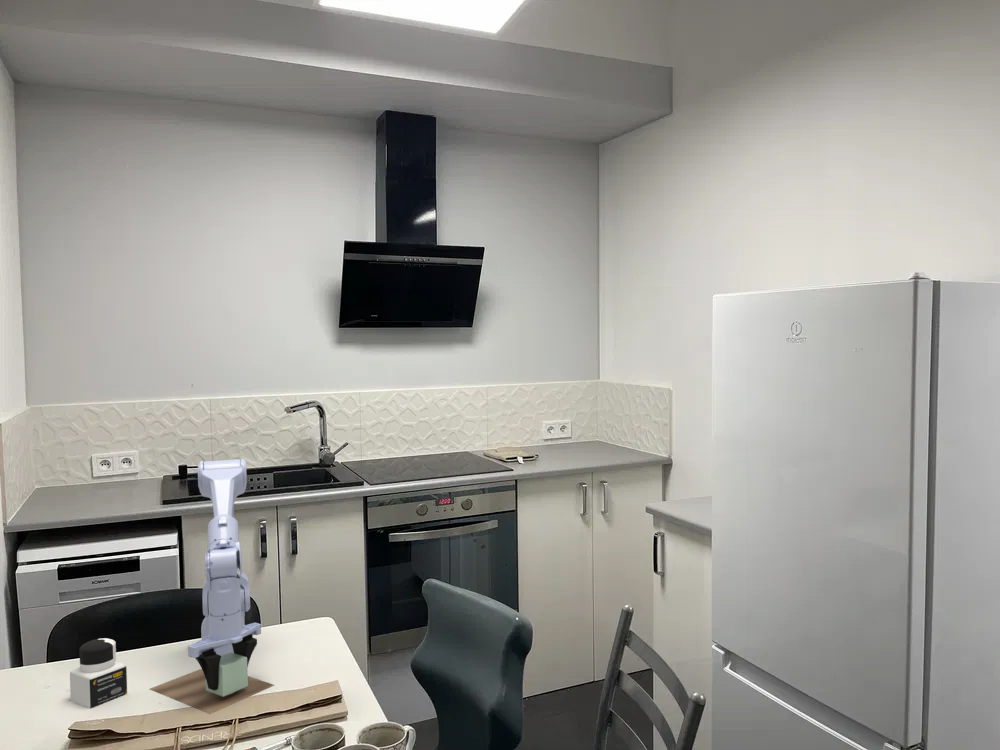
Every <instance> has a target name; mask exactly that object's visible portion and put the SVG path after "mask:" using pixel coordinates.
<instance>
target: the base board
mask: <svg viewBox="0 0 1000 750" xmlns="http://www.w3.org/2000/svg"><path fill="white" fill-rule="evenodd" d="M274 686H275V684H273V683H270V682H266V681H263V680H262V679H258V678H256V677H252V676H249V675H248V686H247V687H245V688H242V689H240V690H238V691H235V692H233V693H231V694H228V695H226V696H224V697H223V696H220V695H217V694H214V693H212V692H209V691H206V678H205V675H204V672H203V670H202V668H200V669H197V670H195V671H192V672H190V673H187V674H184V675H182V676H179V677H177V678H174V679H171V680H169V681H166V682H162V683H161V684H159V685H156V686H153V687H150V688H149V691H153V692H155V693H157V694H159V695H162V696H165V697H168V698H169V699H173V700H174V701H177V702H180V703H182V704H184V705H186V706H187V705H188V706H190V707H192V708H194V709H197V710H199V711H202V712H203V713H207V714H209V715H211V714H213V713H215V712H218V711H220V710H222V709H225V708H227V707H230V706H231V705H234V704H236V703H238V702H240V701H243V700H245V699H247V698H249V697H252V696H254V695H257V694H258V693H261V692H262V691H266V690H267V689H269V688H271V687H274Z"/></svg>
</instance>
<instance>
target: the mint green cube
mask: <svg viewBox="0 0 1000 750" xmlns="http://www.w3.org/2000/svg"><path fill="white" fill-rule="evenodd" d="M248 674H249V673H248V668H247V657H244V656H241V655H238V654H234V653H231V652H229V653H226V654H224V655H221V659H220V663H219V670H218V689H217V690H212V689H209V688H208V685H207V681H206V691H209V692H212V693H214V694H217V695H220V696H223V697H224V696H226V695H228V694H231V693H233V692H235V691H238V690H240V689H242V688H245V687H247V686H248V676H249V675H248Z"/></svg>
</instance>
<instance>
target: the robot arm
mask: <svg viewBox="0 0 1000 750" xmlns="http://www.w3.org/2000/svg"><path fill="white" fill-rule="evenodd" d="M247 475H248V474H247V461H246V460H245V459H244V457H243V458H241V459H240V458H239V459H238V458H237V459H236V458H235V459H223V460H207V461H204V460H200V461H199V463H197V483H198V484H197V486H198V489H199V493H200V494H201V496H202V497H204V498H207V499H208V498H209V499H210V501H211V503H212V510H213V518H212V519H211V520H210V521H209V522H208V525H207V552H205V554H204V574H205V578H204V582H203V583H202V597H201V598H202V614H203V616H204V619H202V623H201V626H200V627H201V628H200V629H201V630H200V633H201V639H200V640H198V641H196V642H193V643H192V644H190V645H188V646H187V656H188V657H190V658H193V659H196V661H197V663H198V665H199V666H200V669H202V670H203V672H204V675H205V678H206V681H207V685H208V688H209V689H212V690H217V689H218V670H219V663H220V659H221V655H224V654H226V653H229V652H231V653H234V654H238V655H241V656H244V657H247V669H248V667H249V664H250V660H251V657H252V655H253V653H254V650H255V649H256V647H257V644H258V639H257V638H254V637H253V636H259V635H261V634H262V624H261V623H258V622H252V623H249V624H245V616H246V614H245V613H246V612H249V610H250V609H251V592H250V591H251V590H250V583H249V577H248V575H247V574H246V573H244V572H243V558H242V557H243V555H242V554H243V553H242V549H241V545H240V544H241V542H240V538H239V537H240V536H239V522H238V520H237V519H236V518H235V509H234V508H235V501H236V500H237V498H238V496H240V495H243V494H244V493H245V492H246V489H247V482H248V478H247Z"/></svg>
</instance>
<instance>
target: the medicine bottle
mask: <svg viewBox="0 0 1000 750" xmlns="http://www.w3.org/2000/svg"><path fill="white" fill-rule="evenodd" d="M116 643H117V642H116V641H115V640H114V639H111V638H107V637H106V638H105V637H104V638H96V639H92V640H89V641H86V642H85V643H83V644H82V645H81V646H80V647H79V667H77V668H73V669H72V670H70V671H69V687H70V688H69V689H70V691H69V692H70V701H71V702H73V703H75V704H78V705H81V706H83V707H86V708H88V709H93V708H96V707H99V706H100V705H103V704H105V703H108V702H110V701H113V700H116V699H118V698H121V697H123V696H127V695H128V676H127V675H128V673H127V672H128V671H127V664H125V663H121V662H119V661H116V660H117V648H116V647H117V646H116V645H117V644H116Z"/></svg>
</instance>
